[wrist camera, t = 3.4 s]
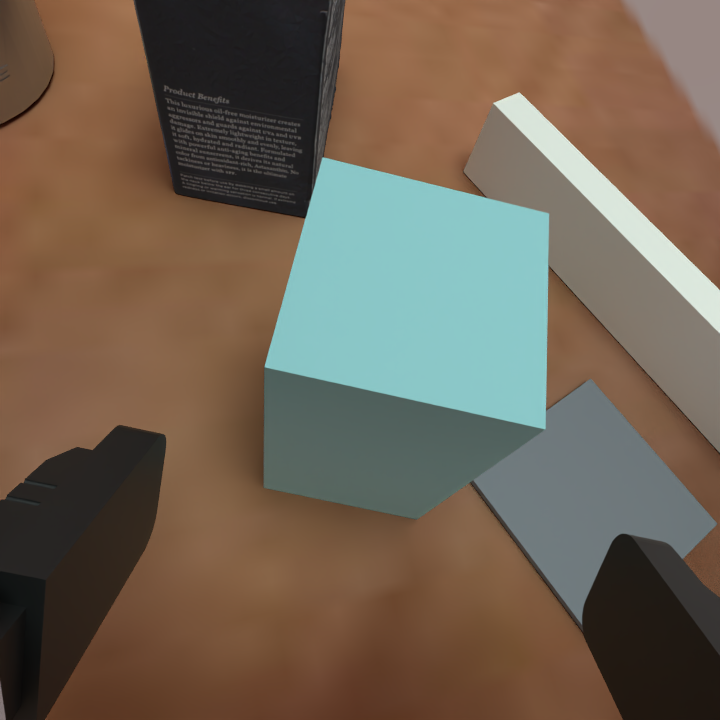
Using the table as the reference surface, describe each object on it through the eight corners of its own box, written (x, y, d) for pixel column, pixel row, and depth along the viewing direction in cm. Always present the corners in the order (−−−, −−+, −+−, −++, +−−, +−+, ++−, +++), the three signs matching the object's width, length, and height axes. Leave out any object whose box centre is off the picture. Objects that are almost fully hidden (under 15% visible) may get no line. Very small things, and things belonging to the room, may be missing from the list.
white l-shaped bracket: (74, 350, 20) (34, 291, 17) (486, 160, 28) (519, 92, 24) (463, 1046, 14) (531, 1189, 10) (857, 556, 22) (974, 542, 18)
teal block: (263, 487, 19) (264, 367, 10) (297, 350, 22) (322, 157, 13) (416, 519, 20) (545, 429, 11) (433, 380, 22) (548, 213, 13)
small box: (215, 40, 29) (193, -244, 19) (340, 66, 29) (376, -197, 20) (164, 195, 24) (102, -81, 15) (314, 222, 25) (346, -26, 15)
